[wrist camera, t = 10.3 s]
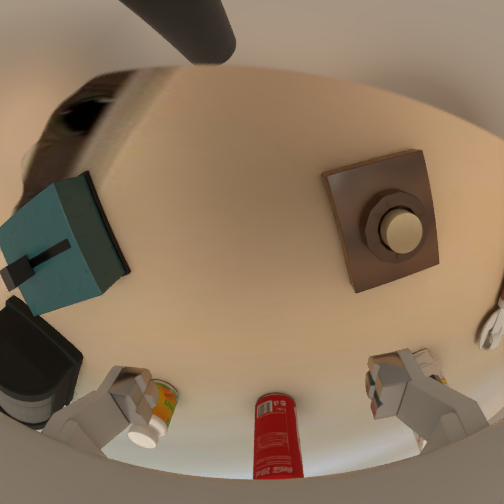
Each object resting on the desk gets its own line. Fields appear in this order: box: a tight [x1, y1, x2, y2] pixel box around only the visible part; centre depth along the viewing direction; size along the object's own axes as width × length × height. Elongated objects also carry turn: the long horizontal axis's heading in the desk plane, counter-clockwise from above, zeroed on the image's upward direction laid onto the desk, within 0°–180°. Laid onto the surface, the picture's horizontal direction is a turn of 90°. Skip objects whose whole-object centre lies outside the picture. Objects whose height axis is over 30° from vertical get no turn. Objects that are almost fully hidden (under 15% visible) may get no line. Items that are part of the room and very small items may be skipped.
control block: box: [322, 149, 439, 293], centre depth 24 cm, size 12×10×4 cm
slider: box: [0, 255, 34, 291], centre depth 23 cm, size 2×2×4 cm
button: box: [380, 208, 422, 253], centre depth 22 cm, size 4×4×2 cm
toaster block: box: [0, 171, 131, 316], centre depth 27 cm, size 13×15×6 cm
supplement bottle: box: [128, 380, 178, 448], centre depth 33 cm, size 5×5×10 cm
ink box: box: [413, 349, 449, 453], centre depth 28 cm, size 8×5×12 cm, turn 22°
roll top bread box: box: [0, 296, 83, 430], centre depth 32 cm, size 17×14×20 cm
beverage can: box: [253, 393, 304, 480], centre depth 29 cm, size 6×6×15 cm
